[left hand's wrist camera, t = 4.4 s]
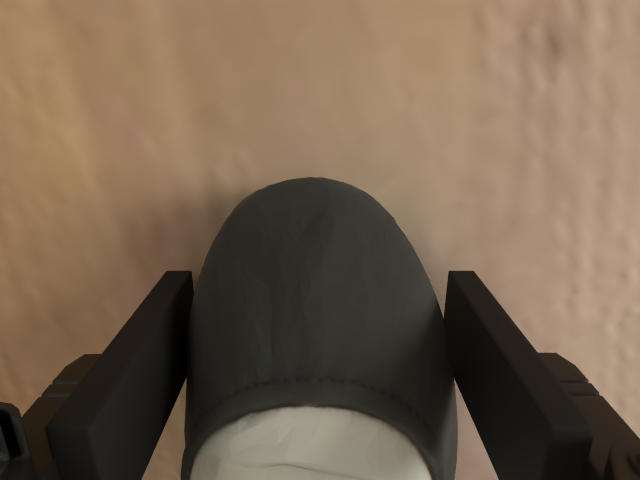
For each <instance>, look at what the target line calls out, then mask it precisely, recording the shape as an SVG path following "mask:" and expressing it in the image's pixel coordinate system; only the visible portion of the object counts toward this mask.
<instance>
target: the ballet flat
mask: <svg viewBox="0 0 640 480" xmlns="http://www.w3.org/2000/svg"><path fill="white" fill-rule="evenodd" d="M186 345H187V385H186V410H185V430H184V432H185V445H186V447H185V450H184V454H183V459H182V468H181V480H454V477H455V470H456V461H457V435H458V428H457V406H456V394H455V384H454V377H453V370H452V363H451V357H450V351H449V344H448V336H447V331H446V327H445V323H444V319H443V316H442V313H441V310H440V307H439V304H438V301H437V298H436V295H435V292H434V290H433V288H432V285H431V283H430V281H429V278H428V276H427V274H426V272H425V270H424V268H423V266H422V264H421V262H420V260H419V258H418V256H417V254H416V252H415V250H414V248H413V247H412V245H411V244H410V242H409V241H408V239H407V237H406V236H405V234H404V233H403V232H402V230H401V229H400V227H399V226H398V225H397V223H396V221H395V220H394V218H393V217H392V216H391V215H390V214H389V213H388V212H387V211H386V210H385V209H384V208H383V207H382V206H381V205H380V204H379V203H378V202H377V201H376V200H375V199H374V198H373V197H371V196H370V195H369V194H367V193H366V192H364V191H362V190H360V189H358V188H356V187H354V186H352V185H349V184H346V183H344V182H340V181H336V180H331V179H327V178H313V177H308V178H299V179H291V180H286V181H283V182H280V183H276V184H273V185H269V186H267V187H265V188H263V189H261V190H257V191H256V192H254V193H253V194H251V195H250V196H248V197H247V198H245V199H244V200H243V201H242V202H240V203H239V204H238V205H237V206H236V207H235V209H234V210H233V212H232V213H231V214H230V216H229V217H228V218H227V220H226V221H225V222H224V224H223V226H222V227H221V229H220V231H219V233H218V234H217V236H216V238H215V240H214V242H213V244H212V246H211V248H210V250H209V252H208V254H207V256H206V259H205V263H204V265H203V267H202V271H201V274H200V277H199V280H198V283H197V285H196V290H195V294H194V296H193V303H192V306H191V310H190V314H189V322H188V327H187V330H186Z"/></svg>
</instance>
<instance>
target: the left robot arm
mask: <svg viewBox="0 0 640 480" xmlns="http://www.w3.org/2000/svg"><path fill="white" fill-rule="evenodd" d="M193 296H194V290H193V280H192V271H166V273H165V274H164V275H163V276H162V278H161V279H160V280H159V282H158V283H157V284H156V285H155V287H154V288H153V289H152V290H151V292H150V293H149V294H148V296H147V297H146V298H145V299H144V301H143V302H142V303H141V305H140V306H139V307H138V308H137V310H136V311H135V312H134V314H133V315H132V316H131V317H130V319H129V320H128V321H127V322H126V324H125V325H124V326H123V328H122V329H121V330H120V331H119V333H118V334H117V335H116V337H115V338H114V339H113V340H112V342H111V343H110V344H109V346H108V347H107V348H106V349H105V351H104V352H103V353H102V354H84V355H83V356H81V357H80V358H78V359H77V360H75V361H74V362H72V363H71V364H69V365H68V366H66V367H65V368H64V369H63V370H62V371H61V373H60V374H59V375H58V376H57V377H56V378H55V379H54V381H53V383H52V385H49V386H48V388H47V389H46V390H45V391H44V392H43V393H42V396H41V397H39V398H38V399H37V400H36V401H35V402H34V404H33V405H32V406H31V407H30V408H29V409H28V410H27V412H26V413H25V414H24V415H23V416H22V417H21V415H20V411H19V409H18V408H17V407H15V406H14V405H13V404H10V403H3V402H0V480H141V479H142V477H143V474H144V472H145V470H146V468H147V465H148V463H149V461H150V459H151V456H152V454H153V452H154V450H155V447H156V445H157V443H158V440H159V438H160V436H161V434H162V431H163V429H164V427H165V425H166V422H167V420H168V418H169V416H170V413H171V411H172V409H173V407H174V404H175V402H176V400H177V397H178V395H179V393H180V391H181V388H182V386H183V384H184V382H185V379H186V377H187V345H186V330H187V327H188V322H189V314H190V310H191V306H192V303H193ZM444 323H445V327H446V331H447V336H448V344H449V351H450V357H451V363H452V370H453V376H454V379H455V381H456V383H457V385H458V388H459V390H460V392H461V394H462V397H463V399H464V401H465V404H466V406H467V408H468V410H469V413H470V415H471V417H472V419H473V422H474V424H475V426H476V428H477V431H478V433H479V435H480V437H481V440H482V442H483V444H484V447H485V449H486V451H487V453H488V456H489V458H490V460H491V462H492V465H493V467H494V469H495V471H496V474H497V476H498V478H499V480H640V439H639V438H638V436H637V435H636V434H635V433H634V432H633V431H632V430H631V428H630V427H629V426H628V425H627V424H626V423H625V422H624V420H623V419H622V418H621V417H620V416H619V415H618V414H617V412H616V411H615V410H614V409H613V408H612V407H611V406H610V404H609V403H608V402H607V401H606V400H605V399H604V398H603V397H602V396H600V395H599V392H598V391H597V390H596V389H595V387H594V386H593V385H592V384H591V383H588V379H587V378H586V377H585V376H584V375H583V374H582V373H581V371H580V370H579V369H578V368H577V367H576V366H575V365H574V364H572V363H571V362H569V361H568V360H566V359H564V358H563V357H561V356H560V355H558V354H557V353H537V351H536V350H535V349H534V348H533V346H532V345H531V344H530V342H529V341H528V340H527V339H526V337H525V336H524V335H523V334H522V332H521V331H520V330H519V328H518V327H517V326H516V325H515V323H514V322H513V321H512V319H511V318H510V317H509V316H508V314H507V313H506V312H505V311H504V309H503V308H502V307H501V305H500V304H499V303H498V302H497V300H496V299H495V298H494V296H493V295H492V294H491V293H490V291H489V290H488V289H487V287H486V286H485V285H484V284H483V282H482V281H481V280H480V279H479V277H478V276H477V275H476V273H475V272H474V271H449V274H448V283H447V293H446V302H445V312H444Z"/></svg>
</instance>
